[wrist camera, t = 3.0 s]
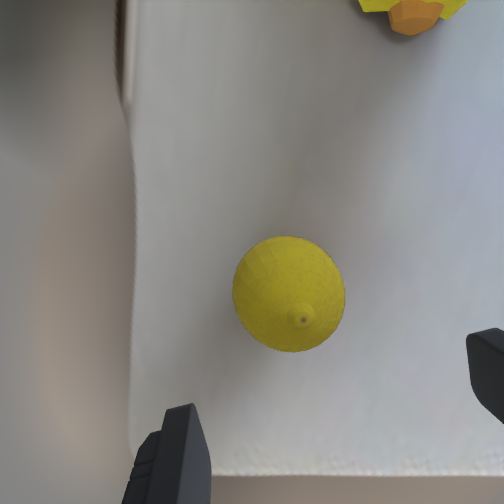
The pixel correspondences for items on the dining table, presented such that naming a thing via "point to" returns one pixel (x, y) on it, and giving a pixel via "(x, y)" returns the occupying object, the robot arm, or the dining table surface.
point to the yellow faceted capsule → (413, 12)
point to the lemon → (288, 294)
